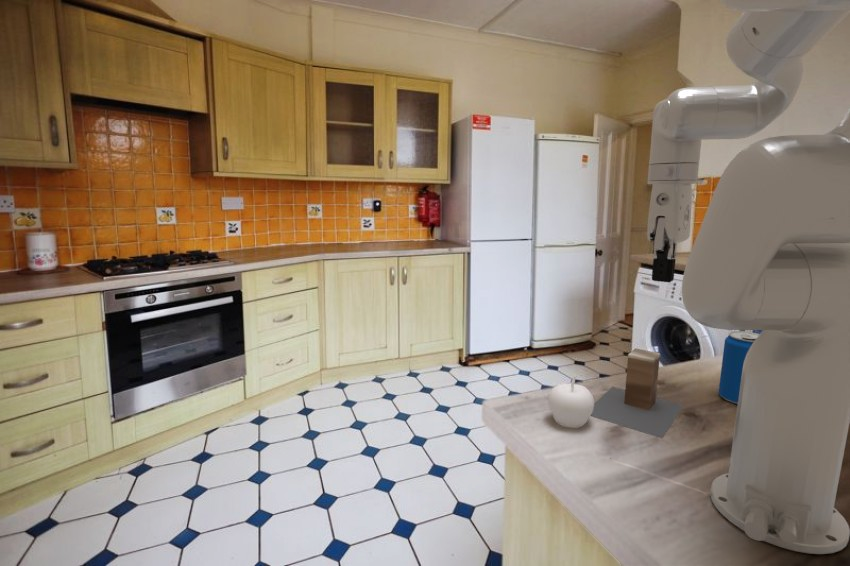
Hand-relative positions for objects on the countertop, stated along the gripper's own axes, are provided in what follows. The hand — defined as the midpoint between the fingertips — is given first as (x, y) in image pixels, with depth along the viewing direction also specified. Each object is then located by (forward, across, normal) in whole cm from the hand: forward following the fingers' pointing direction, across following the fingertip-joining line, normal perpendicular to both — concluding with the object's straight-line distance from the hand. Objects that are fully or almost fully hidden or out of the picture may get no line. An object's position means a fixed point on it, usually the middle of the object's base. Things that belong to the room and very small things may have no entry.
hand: (662, 280), depth 81 cm
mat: (+21, -11, 0) cm, 24 cm away
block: (+20, -8, 0) cm, 22 cm away
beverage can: (+21, +5, -13) cm, 25 cm away
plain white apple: (+21, -22, +7) cm, 31 cm away
